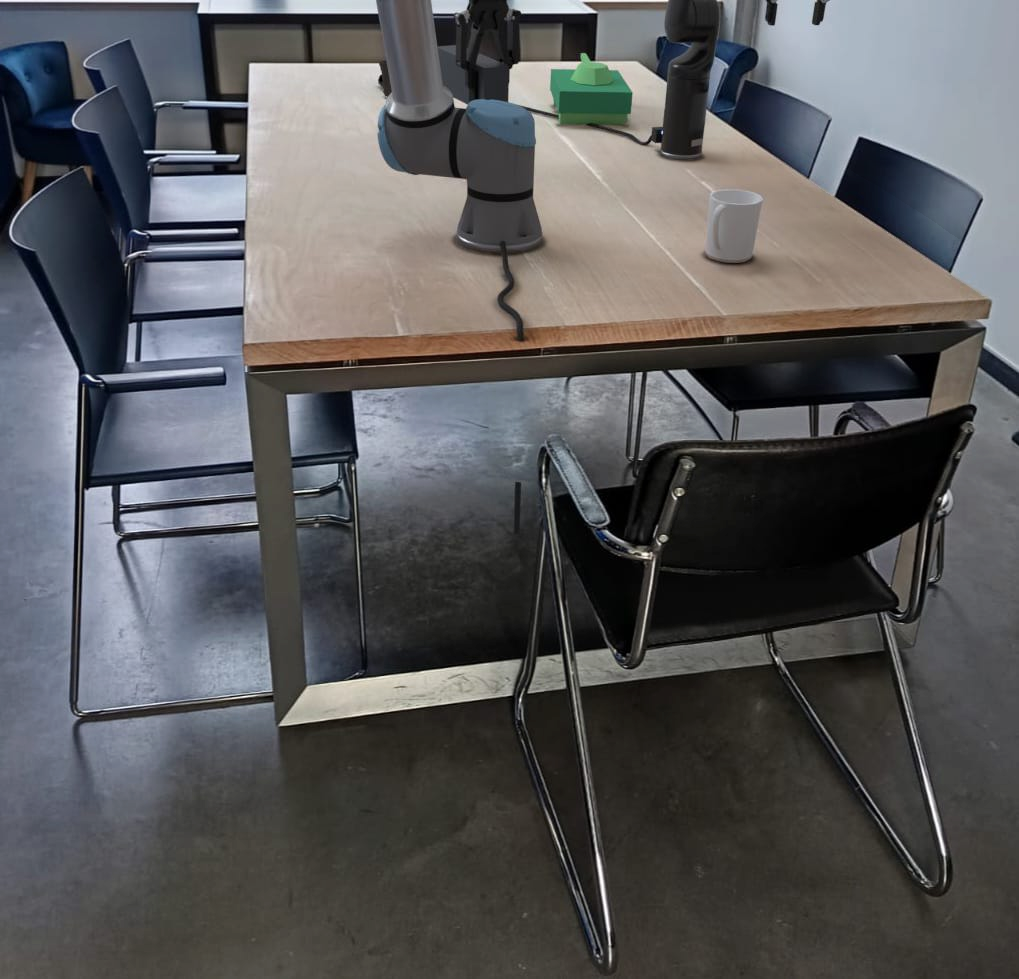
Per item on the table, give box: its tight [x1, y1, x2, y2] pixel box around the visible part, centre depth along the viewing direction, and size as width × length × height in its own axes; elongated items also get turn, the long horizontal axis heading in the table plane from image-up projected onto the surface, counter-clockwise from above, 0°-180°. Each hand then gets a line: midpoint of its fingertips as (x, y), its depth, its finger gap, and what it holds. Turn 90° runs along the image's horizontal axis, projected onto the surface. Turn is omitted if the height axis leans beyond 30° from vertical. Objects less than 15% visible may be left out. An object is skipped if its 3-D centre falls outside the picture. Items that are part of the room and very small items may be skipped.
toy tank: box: [549, 52, 633, 126], centre depth 280 cm, size 18×12×35 cm
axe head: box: [377, 60, 392, 98], centre depth 299 cm, size 18×8×15 cm
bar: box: [437, 44, 510, 105], centre depth 223 cm, size 23×5×8 cm, turn 28°
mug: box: [705, 188, 764, 264], centre depth 188 cm, size 11×9×10 cm
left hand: (487, 103), depth 219 cm, fingers closed on bar, 5 cm apart
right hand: (793, 24), depth 200 cm, fingers open, 8 cm apart
